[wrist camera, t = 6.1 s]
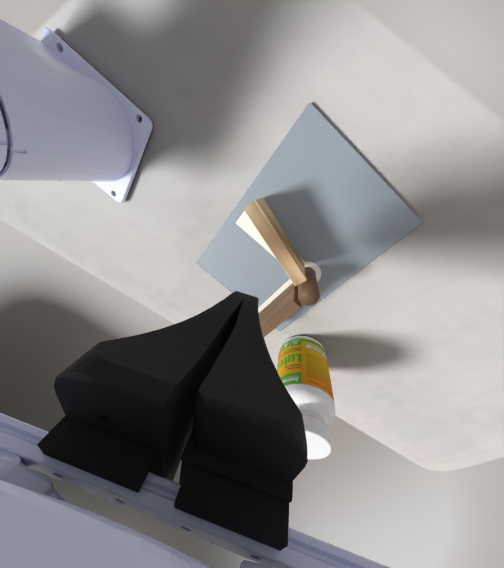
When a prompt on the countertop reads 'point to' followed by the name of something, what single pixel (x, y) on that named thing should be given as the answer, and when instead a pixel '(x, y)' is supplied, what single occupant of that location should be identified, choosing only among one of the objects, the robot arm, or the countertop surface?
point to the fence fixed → (289, 302)
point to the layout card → (310, 216)
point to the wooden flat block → (277, 240)
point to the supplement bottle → (309, 390)
